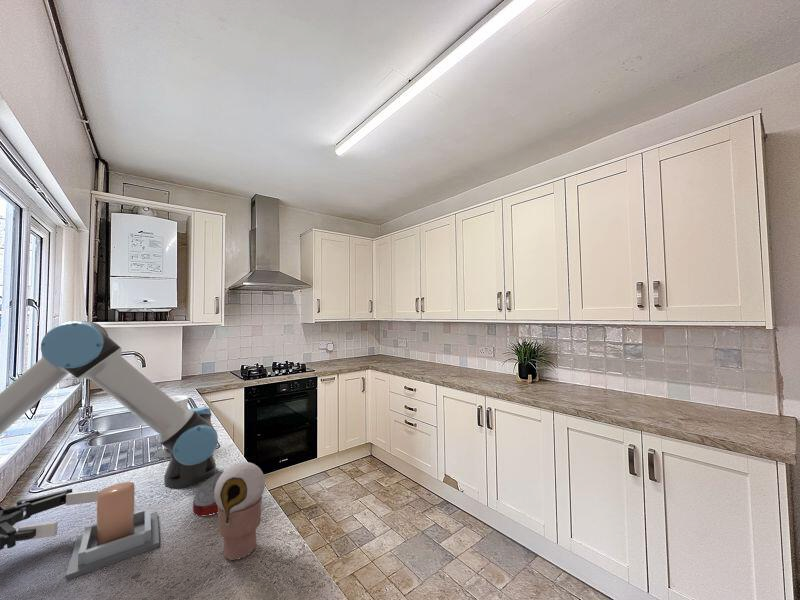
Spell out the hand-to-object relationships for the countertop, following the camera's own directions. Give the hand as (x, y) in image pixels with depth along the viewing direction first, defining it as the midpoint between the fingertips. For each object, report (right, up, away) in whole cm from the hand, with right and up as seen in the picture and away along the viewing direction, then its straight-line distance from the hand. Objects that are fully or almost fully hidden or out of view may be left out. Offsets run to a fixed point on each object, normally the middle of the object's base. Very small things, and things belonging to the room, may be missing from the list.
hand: (78, 510), depth 79 cm
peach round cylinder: (+8, -8, +2) cm, 11 cm away
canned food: (+23, -10, +17) cm, 30 cm away
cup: (-17, -12, +56) cm, 60 cm away
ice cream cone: (+40, -9, -2) cm, 41 cm away
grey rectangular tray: (+8, -9, +2) cm, 12 cm away
